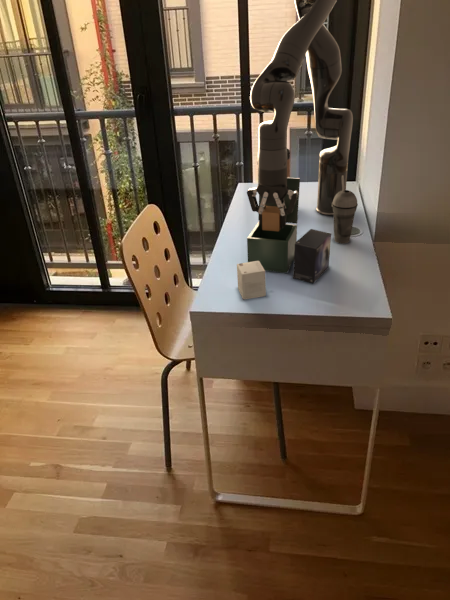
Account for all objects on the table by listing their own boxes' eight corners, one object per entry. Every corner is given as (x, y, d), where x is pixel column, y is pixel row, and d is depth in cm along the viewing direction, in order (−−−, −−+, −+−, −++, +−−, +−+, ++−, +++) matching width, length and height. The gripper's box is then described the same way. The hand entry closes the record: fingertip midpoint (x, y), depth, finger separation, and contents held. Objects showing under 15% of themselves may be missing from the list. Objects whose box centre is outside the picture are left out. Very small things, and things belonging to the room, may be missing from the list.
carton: (262, 230, 137) (262, 212, 135) (266, 223, 141) (266, 205, 138) (278, 231, 136) (278, 213, 133) (282, 224, 140) (283, 207, 137)
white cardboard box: (266, 296, 128) (266, 270, 124) (242, 300, 127) (241, 274, 123) (259, 285, 133) (259, 260, 129) (237, 288, 132) (236, 263, 128)
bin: (287, 273, 138) (287, 241, 133) (247, 268, 141) (246, 238, 136) (296, 254, 147) (297, 224, 142) (259, 250, 150) (258, 221, 145)
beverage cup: (354, 246, 149) (360, 180, 139) (329, 245, 151) (333, 179, 140) (354, 235, 156) (360, 171, 145) (330, 234, 157) (334, 171, 146)
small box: (314, 284, 132) (316, 248, 126) (292, 279, 135) (292, 243, 129) (330, 267, 139) (332, 232, 134) (308, 262, 142) (309, 228, 137)
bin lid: (299, 178, 137) (300, 178, 137) (259, 176, 140) (260, 176, 141) (296, 223, 142) (297, 223, 142) (258, 220, 145) (258, 220, 145)
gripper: (303, 161, 130) (301, 223, 139) (249, 159, 135) (251, 219, 143) (297, 170, 124) (295, 234, 133) (241, 167, 129) (243, 229, 137)
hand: (272, 226), depth 138 cm, fingers closed on carton, 4 cm apart
